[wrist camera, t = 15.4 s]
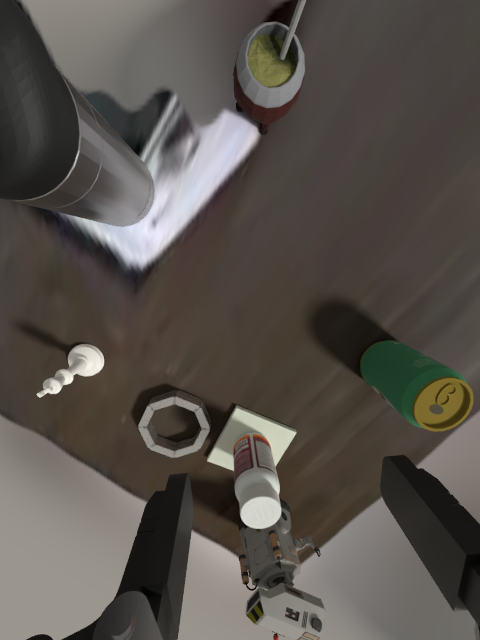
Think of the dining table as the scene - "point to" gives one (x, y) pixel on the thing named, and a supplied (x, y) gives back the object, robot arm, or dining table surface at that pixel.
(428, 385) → the beverage can
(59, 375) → the chess piece
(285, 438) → the sage pad
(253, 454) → the pill bottle
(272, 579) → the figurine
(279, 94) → the mate gourd
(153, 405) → the steel collar
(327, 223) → the dining table surface
